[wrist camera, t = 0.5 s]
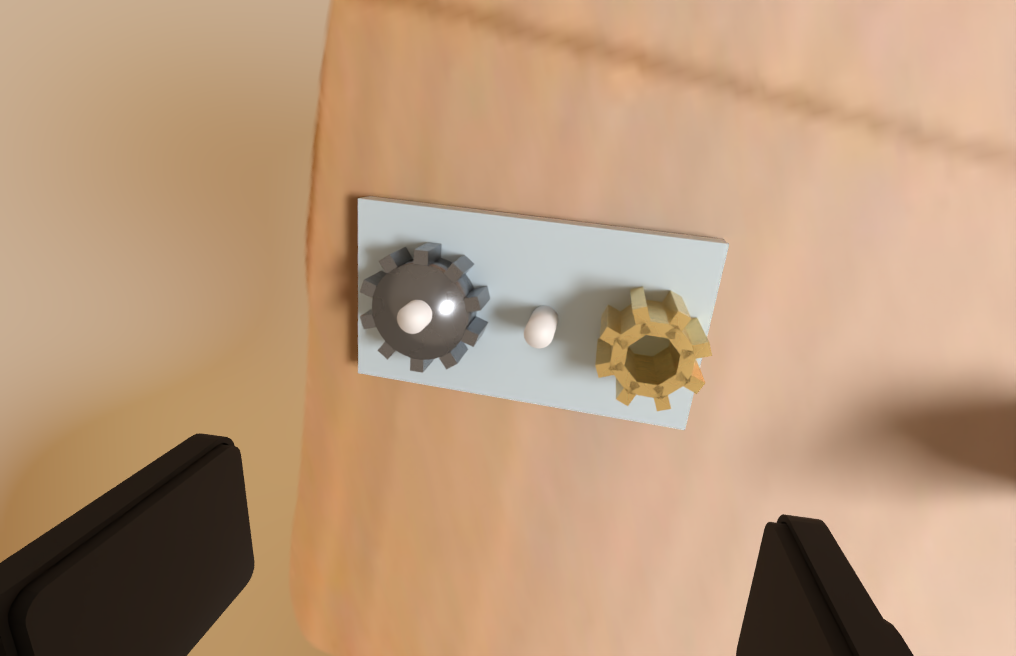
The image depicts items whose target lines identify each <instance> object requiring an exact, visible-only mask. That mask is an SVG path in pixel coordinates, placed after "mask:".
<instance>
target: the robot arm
mask: <svg viewBox="0 0 1016 656" xmlns="http://www.w3.org/2000/svg"><path fill="white" fill-rule="evenodd" d="M250 532H251V531H250V523H249V516H248V508H247V499H246V491H245V483H244V476H243V467H242V459H241V454H240V450H239V449H238V447H235V446H234V443H233V441H232V440H231V439H230V438H228V437H222V436H215V435H208V434H195V435H193V436H191V437H190V438H188V439H187V440H185V441H184V442H182V443H181V444H179V445H178V446H176V447H175V448H173V449H171V450H170V451H169V452H167V453H165V454H164V455H163V456H161V457H159V458H158V459H156V460H155V461H153V462H152V463H150V464H149V465H147V466H146V467H144V468H143V469H141V470H140V471H138V472H137V473H135V474H134V475H132V476H131V477H130V478H128V479H126V480H125V481H123V482H122V483H120V484H119V485H117V486H116V487H114V488H113V489H111V490H110V491H108V492H107V493H105V494H104V495H102V496H101V497H99V498H98V499H96V500H94V501H93V502H92V503H90V504H89V505H87V506H85V507H84V508H82V509H81V510H79V511H78V512H76V513H75V514H73V515H72V516H71V517H69V518H67V519H66V520H64V521H63V522H61V523H60V524H58V525H57V526H55V527H54V528H52V529H51V530H49V531H48V532H46V533H45V534H43V535H42V536H40V537H39V538H37V539H36V540H34V541H33V542H31V543H30V544H28V545H27V546H25V547H24V548H22V549H21V550H19V551H18V552H16V553H15V554H13V555H11V556H10V557H8V558H7V559H6V560H4V561H2V562H1V563H0V656H187V655H188V653H189V652H190V651H191V650H192V649H193V647H194V646H195V645H196V644H197V643H198V642H199V640H200V639H201V638H202V637H203V636H204V635H205V633H206V632H207V631H208V630H209V628H210V627H211V626H212V625H213V624H214V623H215V621H216V620H217V619H218V618H219V617H220V616H221V614H222V613H223V612H224V611H225V610H226V608H227V607H228V606H229V605H230V604H231V603H232V601H233V600H234V599H235V598H236V597H237V596H238V594H239V593H240V592H241V591H242V590H243V588H244V587H245V586H246V585H247V583H248V582H249V580H250V578H251V576H252V573H253V570H254V555H253V548H252V539H251V533H250ZM736 656H914V655H913V654H912V652H911V651H910V649H909V647H908V646H907V644H906V643H905V641H904V639H903V638H902V636H901V635H900V633H899V632H898V631H897V630H896V628H895V627H894V626H893V625H892V624H891V623H889V622H888V621H886V620H885V619H883V617H882V616H881V614H880V612H879V611H878V609H877V608H876V606H875V604H874V603H873V601H872V599H871V598H870V596H869V594H868V593H867V591H866V589H865V588H864V586H863V585H862V583H861V581H860V580H859V578H858V576H857V575H856V573H855V571H854V570H853V568H852V567H851V565H850V563H849V562H848V560H847V558H846V557H845V555H844V553H843V552H842V550H841V549H840V547H839V545H838V544H837V542H836V540H835V539H834V537H833V535H832V534H831V532H830V530H829V529H828V527H827V526H826V524H825V523H824V522H823V521H822V520H819V519H812V518H805V517H798V516H791V515H784V514H783V515H781V516H780V517H779V519H778V521H777V523H774V522H768V523H767V524H766V526H765V529H764V533H763V538H762V542H761V546H760V551H759V555H758V559H757V564H756V568H755V572H754V577H753V581H752V585H751V590H750V594H749V598H748V602H747V607H746V611H745V615H744V620H743V624H742V628H741V633H740V637H739V641H738V646H737V652H736Z"/></svg>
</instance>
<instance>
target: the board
mask: <svg viewBox="0 0 1016 656" xmlns="http://www.w3.org/2000/svg"><path fill="white" fill-rule="evenodd" d="M428 242H432V243H440V244H442V250H441V258H443V259H446V260H448V261H450V262H452V263H453V262H455V261H456V260H458V259H459V258H460V257H462V256H463V255H465V256H467V257H468V258H469V259H470V260H471V261H472V262H473V263H474V265H473V266H472V268H471V269H470V270H469V271H468V272H467V273H466V275H467V276H468V278H469V279H470V281H471V283H472V285H473V287H474V288H477V287H483V286H488V290H489V295H490V300H489V301H488V302H487V304H486V305H485V306H484V307H483V308H482V310H480V311H477V314H476V316H477V317H479V318H481V319H483V320H485V321H487V322H488V324H487V326H486V329H485V331H484V333H483V335H482V336H481V337H480V339H479V340H478V342H477V343H476V344H475V346H474V347H472V346H470V345H468V344H466V343H465V344H466V346H467V348H468V350H467V352H466V353H465V354H464V356H463V357H462V359H461V360H460V361H459V363H458V364H456V365H454V366H452V367H450V368H448V369H446V368H445V367H444V365H443V364H442V362H441V360H440V359H439V358H435V359H434V360H433V362H432V363H431V364H430V365H429V366H428V367H427V369H426V370H425V371H424V372H423V373H421V372H416V371H410V357H408V356H405V355H403V354H401V353H399V352H397V351H396V352H395V353H394V354H393V355H392V356H391V357H390V358H389V359H388V360H387V359H386V358H385V357H384V356H383V355H382V354H381V353H380V352H378V351H377V350H378V349H379V348H380V347H381V346H382V345H383V343H384V342H385V340H384V339H383V338H382V336H381V335H380V333H379V331H378V330H377V327H375V328H369V329H363V326H362V323H361V319H360V316H361V315H363V314H364V313H366V312H367V311H369V310H370V309H372V299H373V298H371V297H369V296H367V295H365V294H363V293H360V289H361V286H362V283H363V280H364V279H366V278H368V277H370V276H372V275H374V274H376V273H377V272H379V271H383V272H385V271H384V269H383V268H382V266H381V265H380V263H379V260H381V259H383V258H384V257H386V256H388V255H389V254H391V253H393V252H395V251H398V250H400V249H402V248H404V247H406V248H407V250H408V251H409V253H410V254H411V256H412V258H413V259H414V249H416V248H418V247H420V246H422V245H424V244H426V243H428ZM728 247H729V243H727V242H726V241H725V240H724V239H718V238H710V237H702V236H694V235H685V234H677V233H669V232H661V231H653V230H644V229H636V228H628V227H620V226H612V225H603V224H595V223H587V222H579V221H571V220H562V219H554V218H546V217H538V216H530V215H521V214H513V213H505V212H497V211H489V210H480V209H472V208H464V207H456V206H448V205H439V204H431V203H423V202H415V201H407V200H398V199H390V198H382V197H374V196H367V197H362V198H358V373H361V374H367V375H372V376H378V377H384V378H390V379H395V380H401V381H407V382H412V383H418V384H424V385H430V386H435V387H441V388H447V389H453V390H458V391H464V392H470V393H475V394H481V395H487V396H493V397H498V398H504V399H510V400H515V401H521V402H527V403H533V404H538V405H544V406H550V407H556V408H561V409H567V410H573V411H578V412H584V413H590V414H596V415H601V416H607V417H613V418H618V419H624V420H630V421H636V422H641V423H647V424H653V425H659V426H664V427H670V428H676V429H681V430H685V428H686V424H687V419H688V415H689V411H690V407H691V402H692V398H693V394H694V392H692V391H690V390H689V389H687V388H685V387H681V388H679V389H678V390H676V391H674V392H673V393H671V394H669V395H668V396H669V401H670V406H671V409H668V410H662V411H657V410H656V406H655V402H654V398H652V397H646V396H640V395H636V396H635V397H634V399H633V400H632V401H631V403H630V404H629V406H626V405H624V404H623V403H621V402H619V401H618V400H616V377H615V376H614V375H611V376H606V377H601V378H598V374H597V370H596V366H595V362H596V351H597V340H598V339H600V327H601V315H602V313H603V312H604V310H605V309H606V307H607V306H608V305H610V306H612V307H613V308H615V309H617V310H619V311H622V310H623V309H625V308H626V307H627V306H629V305H630V304H631V294H630V289H634V288H638V287H642V286H643V288H644V293H645V297H646V300H652V301H659V302H662V301H663V300H664V299H665V297H666V296H667V294H668V293H669V291H670V290H671V291H673V292H675V293H676V294H678V295H680V296H681V297H682V298H683V301H684V303H685V305H686V307H687V310H688V312H689V314H690V316H691V319H692V318H698V320H699V322H700V324H701V326H702V328H703V330H704V332H705V335H706V337H707V335H708V331H709V327H710V323H711V318H712V314H713V310H714V306H715V301H716V297H717V293H718V289H719V285H720V280H721V276H722V272H723V268H724V264H725V259H726V255H727V251H728ZM411 260H412V259H411ZM388 273H389V272H388ZM431 319H432V310H431V308H430V306H429V305H428V304H427V303H426V302H424V301H422V300H413V301H411V302H409V303H408V304H407V305H405V306H404V307H403V308H401V309H400V310H399V312H398V315H397V322H398V324H399V326H400V328H401V329H402V330H403V331H405V332H407V333H410V334H416V333H419V332H420V331H421V330H422V329H424V328H425V327H426V326H427V325H428V324H429V323H430V321H431ZM669 343H670V340H669V339H668V338H662V337H656V336H649V335H645V336H644V337H642V338H641V339H639V340H638V341H636V342H634V343H633V344H631V345H630V346H629V347H630V349H631V350H632V351H633V353H634V354H641V355H647V356H654V355H656V354H658V353H659V352H661V351H662V350H664V349H665V348H667V347H669ZM696 360H697V363H698V365H699V368H700V365H701V360H702V358H697V359H696Z"/></svg>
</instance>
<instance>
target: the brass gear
mask: <svg viewBox="0 0 1016 656" xmlns="http://www.w3.org/2000/svg"><path fill="white" fill-rule="evenodd" d="M630 294H631V304H630V305H629V306H627V307H626V308H625V309H623V310H622V311H619V310H617V309H615V308H613V307H612V306H610V305H608V306H607V307H606V309H605V310H604V312H603V313H602V315H601V327H600V339H598V340H597V351H596V362H595V366H596V370H597V374H598V378H601V377H606V376H611V375H614V376H615V377H616V400H618V401H619V402H621V403H623V404H624V405H626V406H629V404H630V403H631V401H632V400H633V399H634V397H635V396H636V395H640V396H646V397H652V398H654V402H655V406H656V410H657V411H662V410H668V409H671V406H670V401H669V396H668V395H669V394H671V393H673V392H674V391H676V390H678V389H679V388H681V387H685V388H687V389H689V390H690V391H692V392H694V393H696V394H697V393H698V392H699V390H700V389H701V388H702V387H703V385H704V384H705V381H704V378H703V376H702V373H701V371H700V368H699V365H698V363H697V360H696V359H697V358H702V357H708V356H712V353H711V349H710V344H709V341H708V339H707V337H706V335H705V332H704V330H703V328H702V326H701V324H700V322H699V320H698V318H692V319H691V316H690V314H689V312H688V310H687V307H686V305H685V303H684V301H683V298H682V297H681V296H680V295H678V294H676V293H675V292H673V291H671V290H670V291H669V293H668V294H667V296H666V297H665V299H664V300H663V301H662V302H659V301H652V300H646V297H645V293H644V288H643V286H642V287H638V288H634V289H630ZM645 335H649V336H656V337H662V338H668V339H669V340H670V343H669V347H667V348H665V349H664V350H662V351H661V352H659V353H658V354H656V355H654V356H647V355H641V354H634V353H633V351H632V350H631V349H630V347H629V346H630V345H631V344H633V343H634V342H636V341H638V340H639V339H641V338H642V337H644V336H645Z"/></svg>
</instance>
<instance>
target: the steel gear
mask: <svg viewBox="0 0 1016 656" xmlns="http://www.w3.org/2000/svg"><path fill="white" fill-rule="evenodd" d="M441 250H442V244H440V243H432V242H428V243H426V244H424V245H422V246H420V247H418V248H416V249H414V259H413V258H412V256H411V254H410V253H409V251H408V250H407V248H406V247H404V248H402V249H400V250H398V251H395V252H393V253H391V254H389V255H388V256H386V257H384V258H383V259H381V260H379V263H380V265H381V266H382V268H383V269H384V271H385V272H383V271H379V272H377V273H376V274H374V275H372V276H370V277H368V278H366V279H364V280H363V283H362V286H361V289H360V293H363V294H365V295H367V296H369V297H371V298H373V299H372V309H370V310H369V311H367V312H366V313H364V314H363V315H361V316H360V319H361V323H362V326H363V329H369V328H375V327H377V330H378V331H379V333H380V335H381V336H382V338H383V339H384V340H385V342H384V343H383V345H382V346H381V347H380V348H379V349H378V350H377V351H378V352H380V353H381V354H382V355H383V356H384V357H385V358H386V359H387V360H388V359H389V358H390V357H391V356H392V355H393V354H394V353H395V352H396V351H397V352H399V353H401V354H403V355H405V356H408V357H410V371H416V372H421V373H423V372H424V371H425V370H426V369H427V367H428V366H429V365H430V364H431V363H432V362H433V360H434V359H435V358H439V359H440V360H441V362H442V364H443V365H444V367H445V368H446V369H448V368H450V367H452V366H454V365H456V364H458V363H459V361H460V360H461V359H462V357H463V356H464V354H465V353H466V352H467V350H468V348H467V346H466V344H468V345H470V346H472V347H474V346H475V344H476V343H477V342H478V340H479V339H480V337H481V336H482V335H483V333H484V331H485V329H486V326H487V324H488V322H487V321H485V320H483V319H481V318H479V317H477V316H476V314H477V311H480V310H482V308H483V307H484V306H485V305H486V304H487V302H488V301H489V300H490V295H489V290H488V286H483V287H477V288H474V287H473V285H472V283H471V281H470V279H469V278H468V276H467V275H466V273H467V272H468V271H469V270H470V269H471V268H472V266H473V265H474V263H473V262H472V261H471V260H470V259H469V258H468V257H467V256H465V255H463V256H462V257H460V258H459V259H458V260H456V261H455V262H453V263H452V262H450V261H448V260H446V259H443V258H441ZM411 259H412V260H411ZM388 272H389V273H388ZM413 300H422V301H424V302H426V303H427V304H428V305H429V306H430V308H431V310H432V319H431V321H430V323H429V324H428V325H427V326H426V327H425V328H424V329H422V330H421V331H420V332H419V333H416V334H410V333H407V332H405V331H403V330H402V329H401V328H400V326H399V324H398V322H397V315H398V312H399V310H400V309H401V308H403V307H404V306H405V305H407V304H408V303H409V302H411V301H413ZM465 343H466V344H465Z"/></svg>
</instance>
